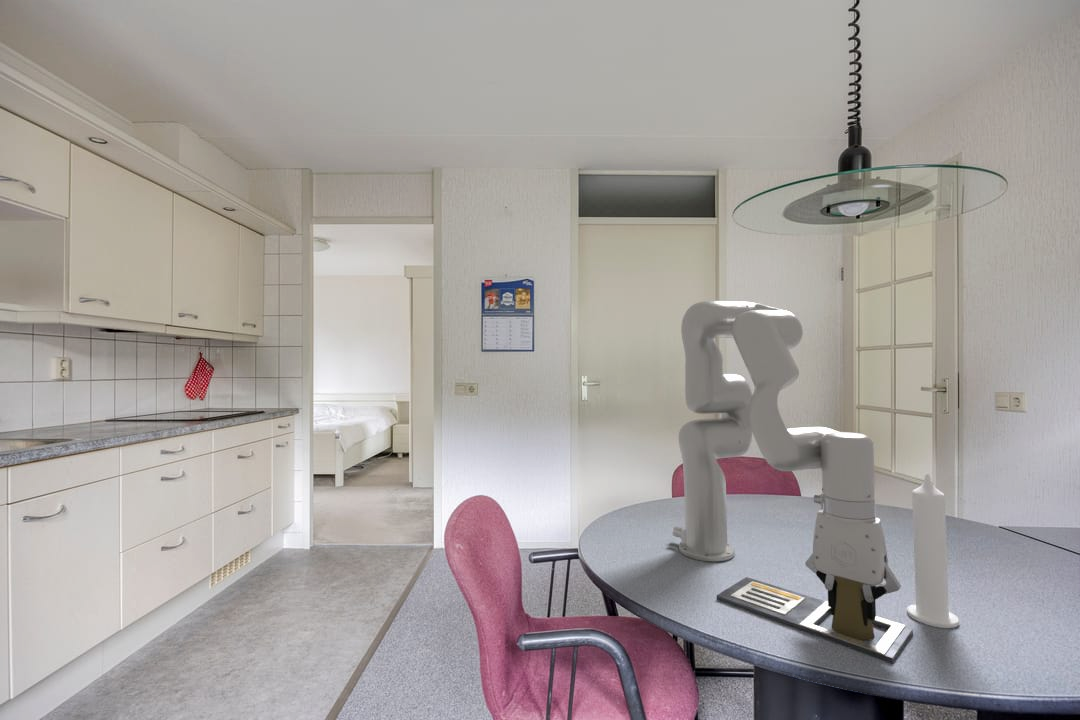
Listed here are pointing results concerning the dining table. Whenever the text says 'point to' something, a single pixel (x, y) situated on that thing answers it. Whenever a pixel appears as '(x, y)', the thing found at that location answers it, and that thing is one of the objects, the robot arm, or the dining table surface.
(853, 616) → the cork
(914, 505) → the candle
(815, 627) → the panel
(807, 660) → the dining table surface
